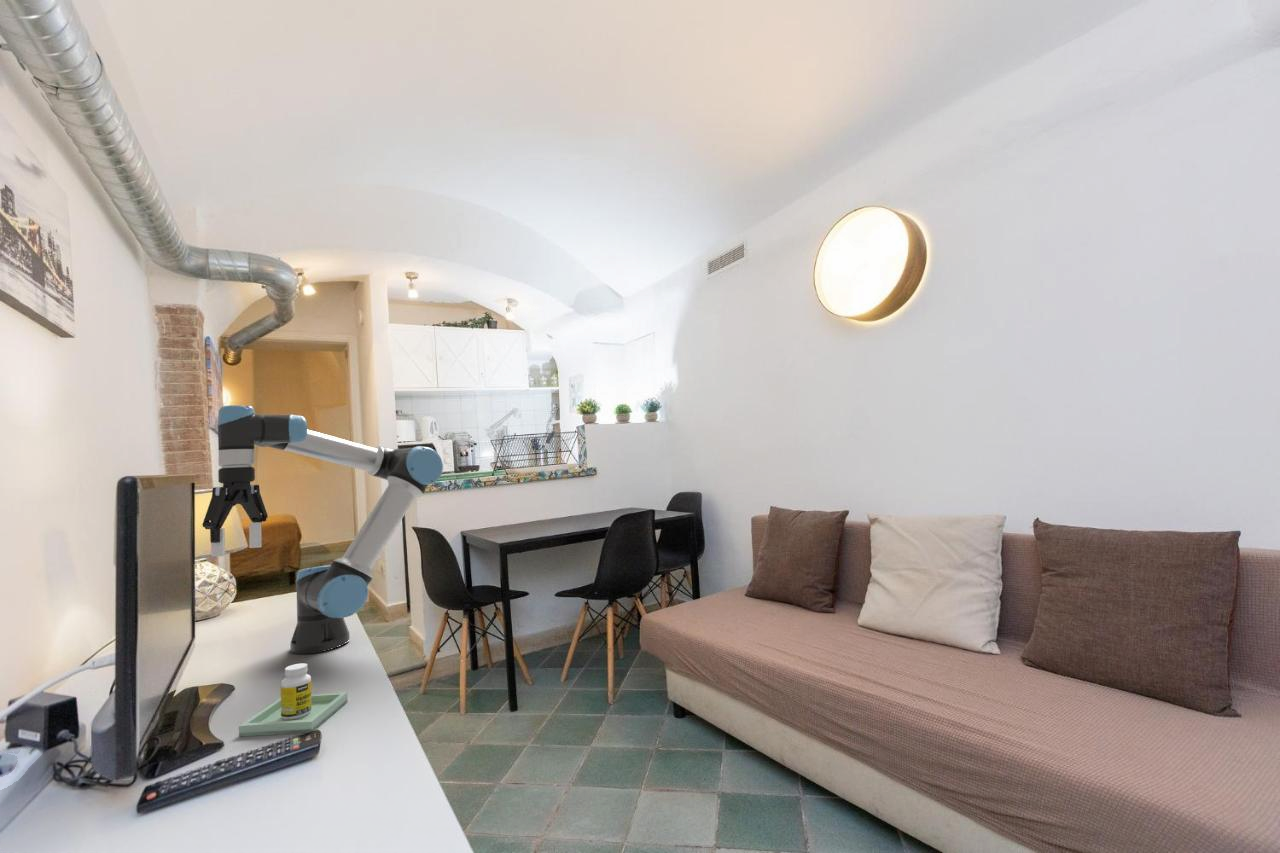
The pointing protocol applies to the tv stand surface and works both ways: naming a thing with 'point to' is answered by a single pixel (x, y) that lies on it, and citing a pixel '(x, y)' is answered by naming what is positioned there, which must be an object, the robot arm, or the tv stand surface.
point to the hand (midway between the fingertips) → (237, 551)
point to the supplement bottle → (295, 692)
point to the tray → (274, 724)
